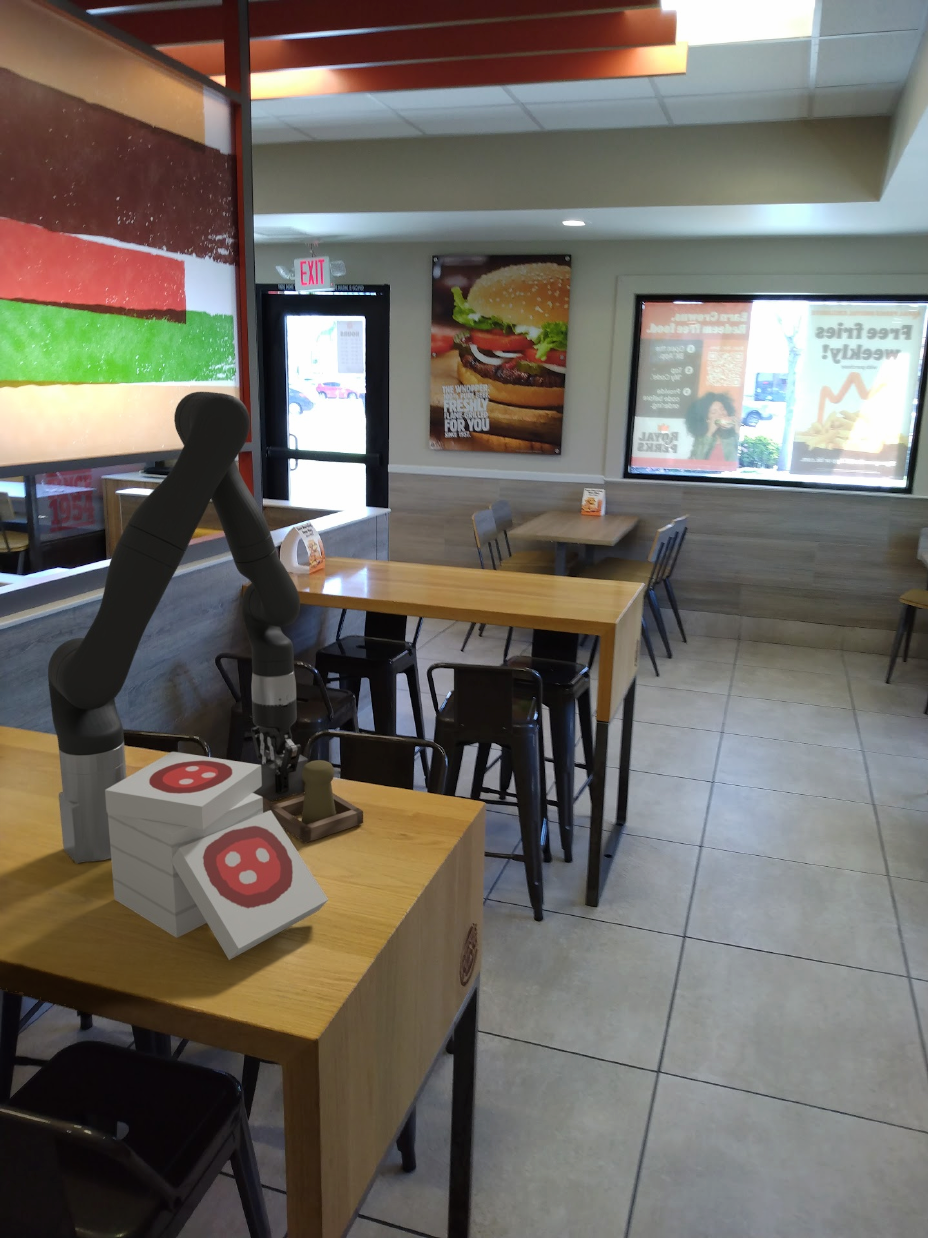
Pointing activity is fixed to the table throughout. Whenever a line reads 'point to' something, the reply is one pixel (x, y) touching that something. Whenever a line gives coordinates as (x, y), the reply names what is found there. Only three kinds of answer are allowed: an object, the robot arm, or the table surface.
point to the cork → (318, 791)
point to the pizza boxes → (206, 852)
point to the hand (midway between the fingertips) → (277, 788)
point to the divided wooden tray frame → (288, 809)
